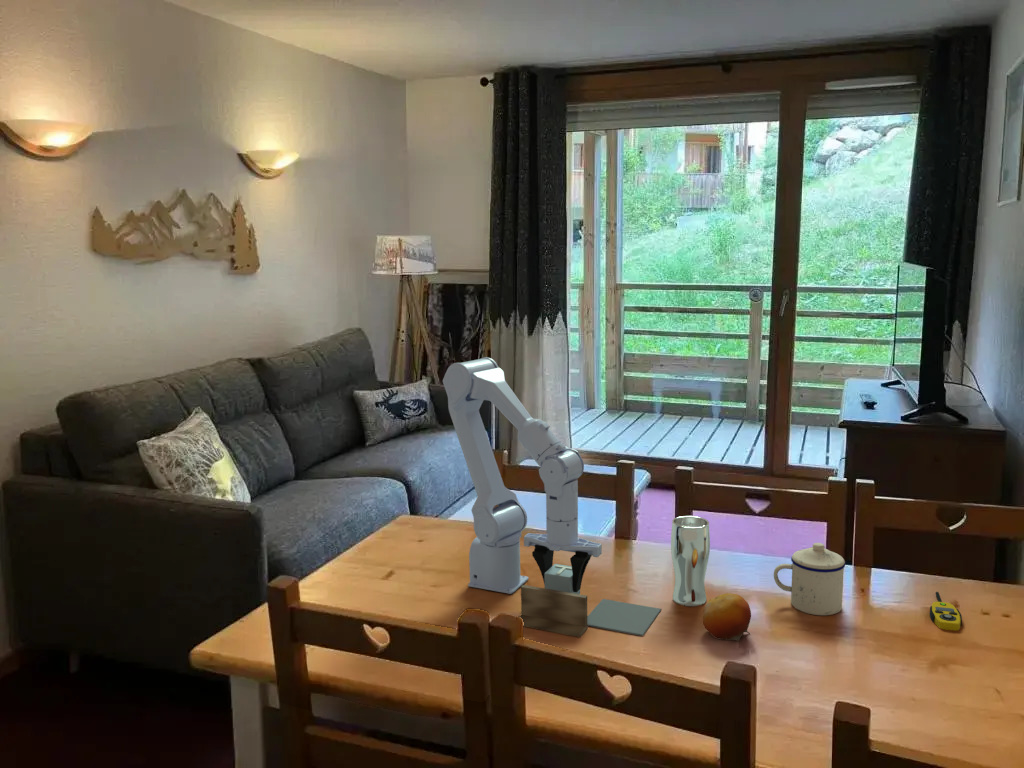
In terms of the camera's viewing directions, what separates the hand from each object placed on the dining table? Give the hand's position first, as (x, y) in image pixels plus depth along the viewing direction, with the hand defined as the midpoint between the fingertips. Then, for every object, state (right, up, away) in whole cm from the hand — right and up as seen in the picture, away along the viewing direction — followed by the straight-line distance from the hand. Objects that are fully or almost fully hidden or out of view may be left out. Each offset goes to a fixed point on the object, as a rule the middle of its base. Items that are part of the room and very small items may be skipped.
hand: (562, 587), depth 158 cm
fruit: (+27, -5, -13) cm, 30 cm away
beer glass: (+23, -2, 0) cm, 24 cm away
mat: (+10, -4, -6) cm, 13 cm away
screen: (-2, -5, -9) cm, 11 cm away
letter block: (0, -2, 0) cm, 2 cm away
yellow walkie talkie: (+66, -3, -7) cm, 67 cm away
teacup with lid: (+44, -3, -3) cm, 44 cm away
